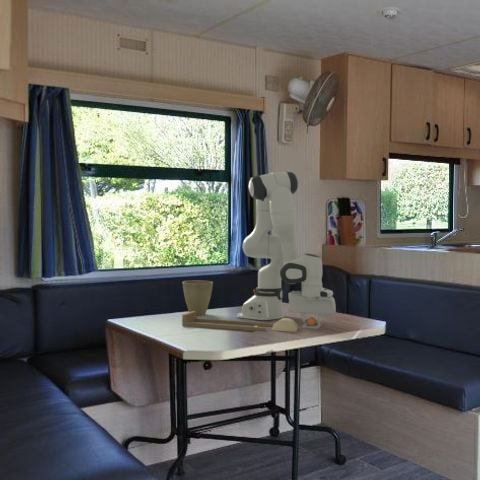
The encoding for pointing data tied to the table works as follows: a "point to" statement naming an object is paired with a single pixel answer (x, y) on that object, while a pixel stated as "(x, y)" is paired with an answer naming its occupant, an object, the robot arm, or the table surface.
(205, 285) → the plant pot
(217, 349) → the table surface
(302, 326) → the coaster
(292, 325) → the lane
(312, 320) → the ball
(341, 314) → the table surface
